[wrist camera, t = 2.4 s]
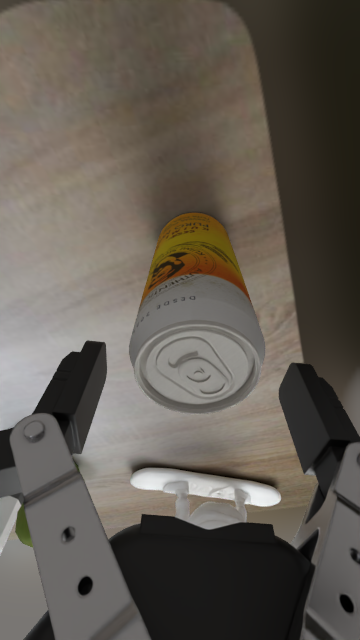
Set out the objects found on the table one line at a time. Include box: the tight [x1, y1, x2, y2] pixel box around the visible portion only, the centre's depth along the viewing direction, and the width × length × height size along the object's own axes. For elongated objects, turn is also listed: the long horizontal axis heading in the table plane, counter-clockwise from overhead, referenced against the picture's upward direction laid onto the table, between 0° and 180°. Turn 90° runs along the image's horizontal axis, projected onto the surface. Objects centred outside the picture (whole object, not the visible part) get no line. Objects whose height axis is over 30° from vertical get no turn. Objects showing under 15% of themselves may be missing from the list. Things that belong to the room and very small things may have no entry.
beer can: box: [129, 213, 265, 414], centre depth 18 cm, size 6×6×15 cm
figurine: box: [130, 468, 281, 530], centre depth 41 cm, size 26×13×17 cm, turn 76°
